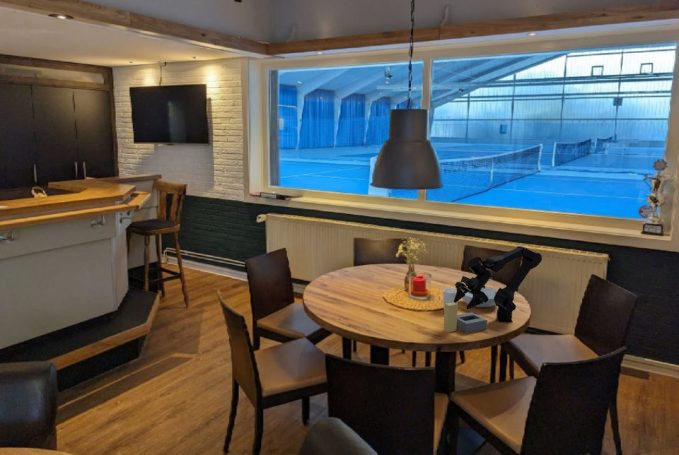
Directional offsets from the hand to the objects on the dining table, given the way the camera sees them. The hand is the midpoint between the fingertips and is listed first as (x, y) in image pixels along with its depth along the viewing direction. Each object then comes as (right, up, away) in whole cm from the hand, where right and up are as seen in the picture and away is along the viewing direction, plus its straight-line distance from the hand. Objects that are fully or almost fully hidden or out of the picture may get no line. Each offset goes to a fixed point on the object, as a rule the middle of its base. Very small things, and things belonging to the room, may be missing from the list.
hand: (460, 305), depth 242 cm
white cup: (+1, -6, +29) cm, 29 cm away
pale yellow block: (-5, -12, 0) cm, 13 cm away
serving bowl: (+19, -5, +36) cm, 41 cm away
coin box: (+5, -11, +5) cm, 13 cm away
